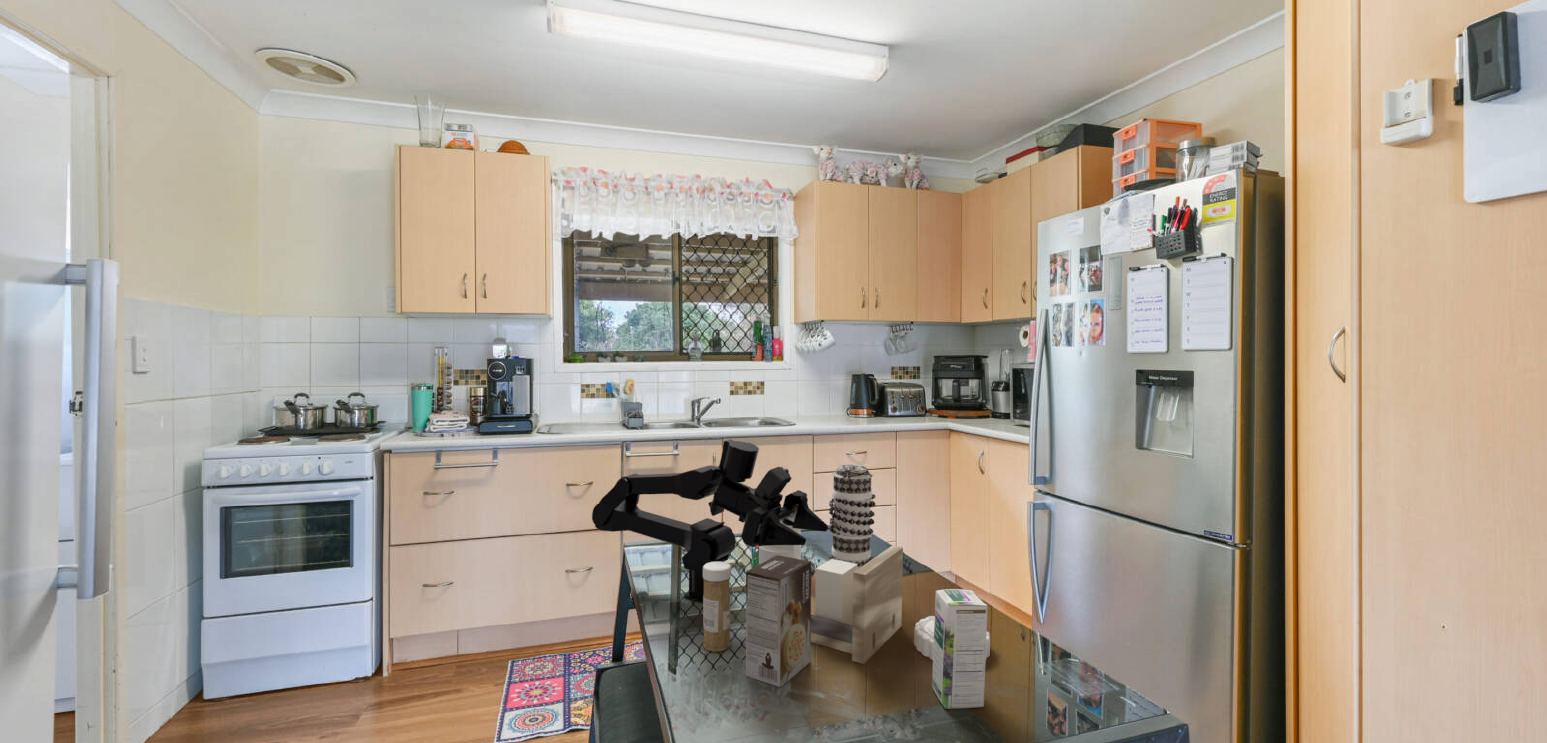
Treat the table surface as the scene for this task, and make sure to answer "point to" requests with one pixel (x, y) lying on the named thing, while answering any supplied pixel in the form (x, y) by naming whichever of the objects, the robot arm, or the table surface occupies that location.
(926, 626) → the mooncake
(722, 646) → the sprinkles bottle
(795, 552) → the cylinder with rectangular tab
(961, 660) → the syrup box
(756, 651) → the coffee box
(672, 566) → the table surface
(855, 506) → the decorative candle
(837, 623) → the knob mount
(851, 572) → the push knob
